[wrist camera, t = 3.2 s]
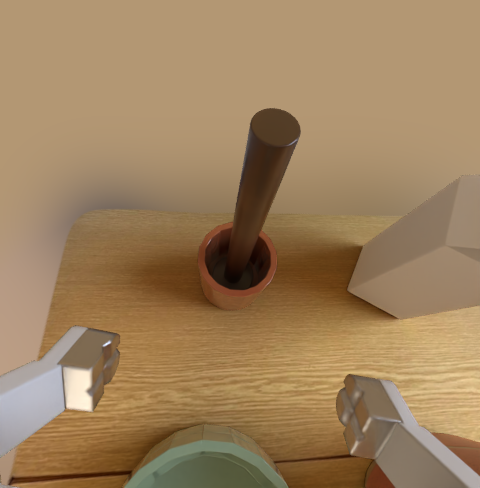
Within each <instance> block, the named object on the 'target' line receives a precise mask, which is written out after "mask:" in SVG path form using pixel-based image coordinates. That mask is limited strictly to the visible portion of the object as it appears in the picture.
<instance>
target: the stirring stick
mask: <svg viewBox="0 0 480 488" xmlns="http://www.w3.org/2000/svg"><path fill="white" fill-rule="evenodd" d="M300 132H301V131H300V125H299V124H298V121H297V120H296V119H295V117H293V116H292V115H291V114H289V113H288V112H286V111H283V110H280V109H275V108H269V109H264V110H261V111H259V112H257V113H256V114H255V115H254V116H253V118H252V120H251V123H250V129H249V134H248V141H247V146H246V152H245V157H244V163H243V169H242V174H241V180H240V186H239V192H238V197H237V203H236V209H235V214H234V220H233V226H232V232H231V237H230V243H229V249H228V255H227V256H226V257H224V258H222V259H220V260H219V261H218V262H217V263H216V264H215V266H214V268H213V273H212V278H213V279H214V280H215V281H216V282H217V283H218V284H219V285H222V286H224V287H226V288H228V289H230V290H246V289H249V288H250V286H251V284H252V282H253V270H252V267H251V265H250V264H249V263H248V261H249V259H250V256H251V254H252V251H253V249H254V246H255V244H256V242H257V239H258V237H259V234H260V232H261V229H262V227H263V224H264V222H265V220H266V217H267V215H268V212H269V210H270V207H271V205H272V203H273V200H274V198H275V195H276V193H277V190H278V188H279V186H280V183H281V181H282V178H283V176H284V173H285V171H286V169H287V166H288V164H289V161H290V159H291V156H292V154H293V151H294V149H295V147H296V144H297V142H298V139H299V137H300Z"/></svg>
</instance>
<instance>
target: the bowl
mask: <svg viewBox="0 0 480 488" xmlns="http://www.w3.org/2000/svg"><path fill="white" fill-rule="evenodd" d="M121 488H289V487H288V485H287V483H286V482H285V480H284V478H283V477H282V475H281V473H280V472H279V470H278V468H277V466H276V465H275V463H274V461H273V460H272V458H271V457H270V456H269V455H268V454H267V453H266V452H265V451H264V450H263V449H262V448H261V447H260V446H259V445H258V444H257V443H256V442H255V441H254V440H253V439H252V438H251V437H249V436H247V435H245V434H243V433H241V432H239V431H237V430H235V429H233V428H231V427H228V426H219V425H209V424H204V425H203V424H201V425H197V426H194V427H190V428H186V429H183V430H179V431H176V432H175V433H173V434H172V435H170V436H169V437H167V438H166V439H164V440H163V441H161V442H160V443H158V444H157V445H155V446H154V447H153V448H151V450H150V451H149V452H148V453H147V454H146V455H145V457H144V458H143V459H142V460H141V461H140V463H139V464H138V465H137V466H136V467H135V469H134V470H133V471H132V472H131V473H130V475H129V476H128V478H127V479H126V481H125V482H124V484H123V485H122V487H121Z"/></svg>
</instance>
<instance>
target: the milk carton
mask: <svg viewBox="0 0 480 488" xmlns="http://www.w3.org/2000/svg"><path fill="white" fill-rule="evenodd" d="M347 291H348V292H350V293H352V294H354V295H356V296H358V297H359V298H361V299H363V300H365V301H367V302H369V303H371V304H372V305H374V306H376V307H378V308H380V309H382V310H384V311H385V312H387V313H389V314H391V315H393V316H395V317H397V318H398V319H400V320H402V319H408V318H413V317H419V316H425V315H430V314H436V313H441V312H447V311H452V310H458V309H463V308H469V307H474V306H480V175H462V176H461V177H459V178H458V179H456V180H455V181H454V182H452V183H451V184H449V185H448V186H446V187H445V188H444V189H442V190H441V191H439V192H438V193H437V194H435V195H434V196H432V197H431V198H430V199H428V200H427V201H425V202H424V203H423V204H421V205H420V206H418V207H417V208H415V209H414V210H413V211H411V212H410V213H408V214H407V215H406V216H404V217H403V218H401V219H400V220H399V221H397V222H396V223H394V224H393V225H391V226H390V227H389V228H387V229H386V230H384V231H383V232H382V233H380V234H379V235H377V236H376V237H375V238H373V239H372V240H370V241H369V242H368V243H366V244H365V245H364V246H363V248H362V251H361V253H360V256H359V259H358V261H357V264H356V267H355V270H354V272H353V275H352V278H351V280H350V283H349V286H348V289H347Z"/></svg>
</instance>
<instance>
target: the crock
mask: <svg viewBox="0 0 480 488" xmlns="http://www.w3.org/2000/svg"><path fill="white" fill-rule="evenodd" d="M232 226H233V222H230V223H226V224H223V225H219V226H217V227H216V228H214V229H213V230H212V231H211V232H209V233H208V234H207V235H206V236H205V238H204V240H203V242H202V243H201V245H200V247H199V254H198V267H199V275H200V283H201V286H202V290H203V292H204V294H205V296H206V298H207V299H208V300H209V301H210V302H211V303H212V304H213V305H215V306H216V307H218V308H221V309H224V310H230V311H234V310H240V309H243V308H245V307H247V306H249V305H250V304H251V303H253V301H254V300H255V299H256V298H257V297H258V296H259V295H260V294H261V293H262V292H263V290H264V289H265V288H266V287H267V286H268V284H269V283H270V282H271V280H272V278H273V276H274V273H275V271H276V268H277V253H276V250H275V248H274V246H273V243H272V241H271V239H270V238H269V237H268V236H267V235H266V234H265V233H264V232H263V231H262V230H261V232H260V234H259V237H258V239H257V242H256V244H255V246H254V249H253V251H252V254H251V256H250V259H249V261H248V263H249V264H250V265H251V267H252V270H253V282H252V284H251V286H250V288H249V289H246V290H230V289H228V288H226V287H224V286H222V285H219V284H218V283H217V282H216V281H215V280H214V279H213V278H212V273H213V268H214V266H215V264H216V263H217V262H218V261H219V260H220V259H222V258H224V257H226V256H227V255H228V249H229V243H230V237H231V232H232Z"/></svg>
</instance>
